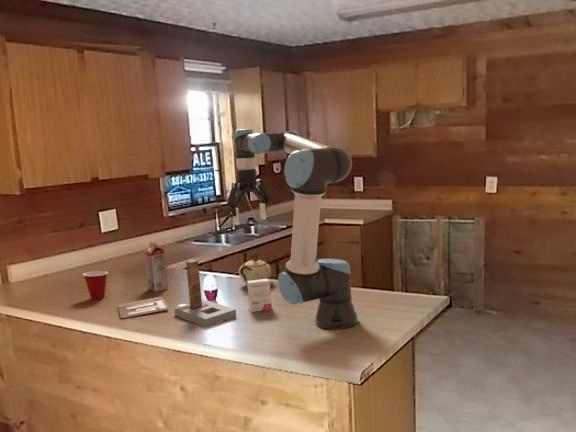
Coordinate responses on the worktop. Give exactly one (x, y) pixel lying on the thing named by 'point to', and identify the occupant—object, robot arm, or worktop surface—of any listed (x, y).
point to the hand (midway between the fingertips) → (250, 221)
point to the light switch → (147, 304)
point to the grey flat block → (205, 313)
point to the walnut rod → (194, 283)
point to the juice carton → (156, 268)
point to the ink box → (259, 295)
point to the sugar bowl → (255, 269)
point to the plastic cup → (96, 283)
